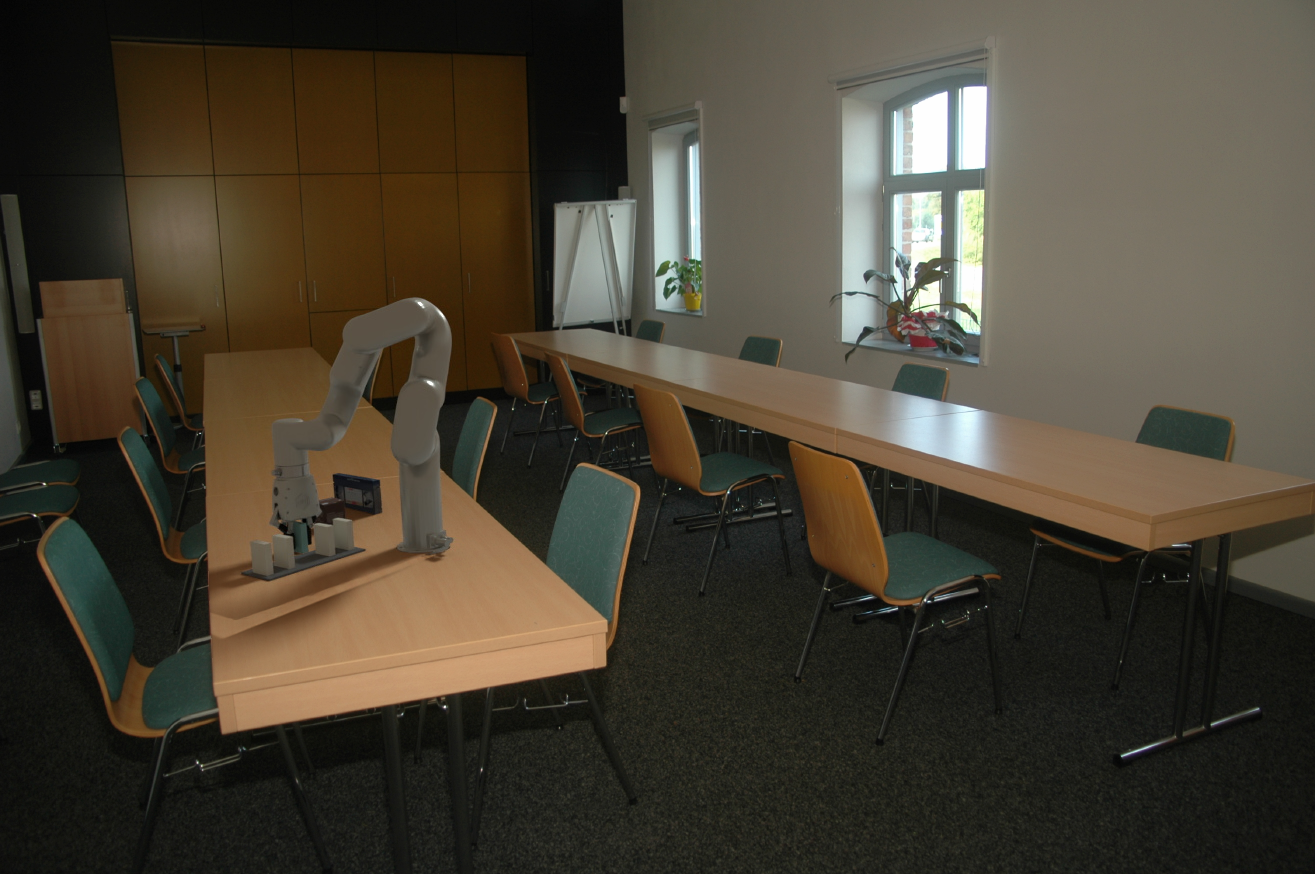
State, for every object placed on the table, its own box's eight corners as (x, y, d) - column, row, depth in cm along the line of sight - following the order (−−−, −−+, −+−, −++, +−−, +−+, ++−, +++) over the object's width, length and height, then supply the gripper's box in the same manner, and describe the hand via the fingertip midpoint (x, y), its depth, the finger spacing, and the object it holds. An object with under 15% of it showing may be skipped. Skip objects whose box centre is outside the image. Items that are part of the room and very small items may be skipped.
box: (334, 523, 246) (332, 496, 245) (347, 527, 242) (345, 500, 241) (313, 528, 242) (311, 501, 240) (326, 532, 238) (323, 504, 237)
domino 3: (321, 551, 219) (319, 522, 218) (335, 554, 216) (333, 525, 215) (315, 553, 218) (313, 524, 216) (329, 556, 215) (327, 527, 214)
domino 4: (340, 545, 223) (338, 517, 222) (354, 548, 221) (352, 520, 220) (334, 547, 222) (332, 519, 221) (348, 550, 219) (346, 521, 218)
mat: (365, 550, 221) (365, 548, 221) (269, 580, 199) (269, 579, 199) (337, 544, 226) (337, 543, 226) (241, 573, 204) (240, 572, 204)
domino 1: (259, 570, 205) (256, 539, 204) (273, 573, 202) (270, 542, 201) (252, 572, 204) (250, 541, 203) (267, 575, 201) (264, 544, 200)
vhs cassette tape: (334, 508, 264) (331, 473, 262) (343, 506, 266) (341, 472, 265) (374, 517, 253) (371, 481, 251) (383, 514, 255) (380, 479, 254)
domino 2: (280, 563, 210) (278, 533, 208) (295, 567, 207) (292, 536, 206) (274, 565, 208) (272, 535, 207) (289, 569, 206) (286, 538, 205)
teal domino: (295, 548, 223) (292, 520, 222) (308, 551, 221) (306, 523, 219) (289, 550, 222) (286, 522, 221) (302, 553, 219) (300, 524, 218)
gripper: (271, 479, 209) (278, 557, 212) (332, 466, 223) (337, 540, 226) (250, 476, 213) (257, 553, 216) (311, 463, 227) (317, 536, 230)
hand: (298, 545), depth 221 cm, fingers open, 3 cm apart
